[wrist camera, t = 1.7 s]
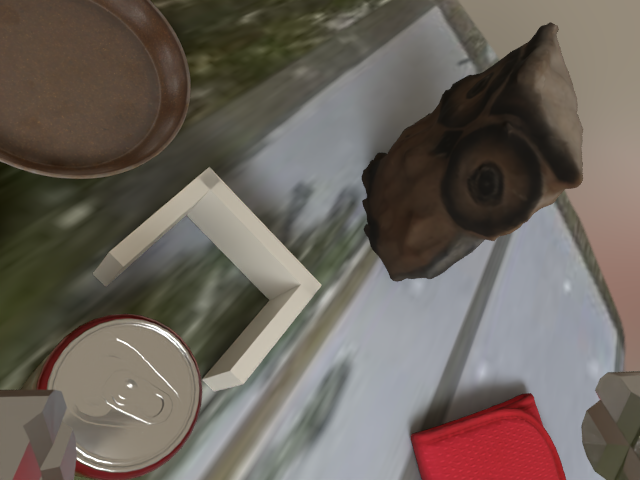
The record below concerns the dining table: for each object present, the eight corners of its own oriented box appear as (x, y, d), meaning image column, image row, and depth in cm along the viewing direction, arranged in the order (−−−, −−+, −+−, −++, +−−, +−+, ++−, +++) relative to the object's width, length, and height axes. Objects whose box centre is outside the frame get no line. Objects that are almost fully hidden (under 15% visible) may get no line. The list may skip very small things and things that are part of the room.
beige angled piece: (213, 391, 39) (243, 384, 35) (92, 273, 37) (108, 252, 33) (288, 300, 45) (321, 285, 41) (185, 194, 43) (209, 166, 39)
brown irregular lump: (391, 298, 50) (596, 223, 34) (313, 177, 50) (483, 45, 34) (464, 234, 58) (660, 149, 42) (397, 129, 57) (568, 2, 41)
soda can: (-17, 434, 32) (-6, 425, 22) (66, 327, 36) (107, 280, 26) (95, 497, 34) (150, 514, 24) (162, 389, 38) (233, 366, 28)
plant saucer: (100, 243, 39) (110, 228, 36) (-169, 79, 33) (-179, 49, 31) (215, 79, 48) (229, 59, 45) (18, -69, 43) (22, -101, 40)
